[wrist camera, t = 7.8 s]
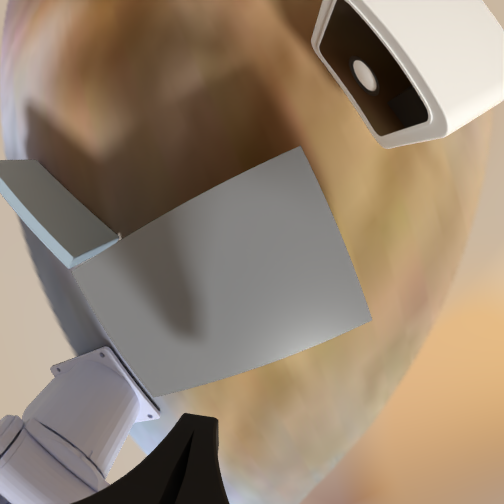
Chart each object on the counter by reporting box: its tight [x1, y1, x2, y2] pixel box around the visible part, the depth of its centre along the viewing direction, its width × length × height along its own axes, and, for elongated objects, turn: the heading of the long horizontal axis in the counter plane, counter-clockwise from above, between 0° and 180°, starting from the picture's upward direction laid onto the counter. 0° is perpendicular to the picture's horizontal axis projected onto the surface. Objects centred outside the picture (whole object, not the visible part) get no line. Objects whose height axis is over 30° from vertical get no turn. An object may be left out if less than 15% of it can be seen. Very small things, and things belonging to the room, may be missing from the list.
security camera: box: [311, 0, 504, 149], centre depth 10 cm, size 6×7×10 cm
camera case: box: [72, 146, 372, 397], centre depth 15 cm, size 12×8×6 cm, turn 116°
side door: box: [0, 160, 119, 269], centre depth 15 cm, size 10×2×5 cm, turn 52°
